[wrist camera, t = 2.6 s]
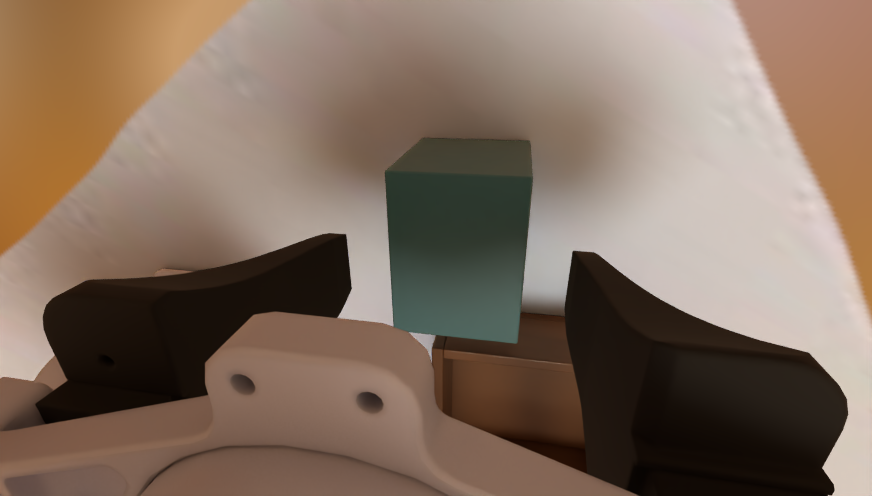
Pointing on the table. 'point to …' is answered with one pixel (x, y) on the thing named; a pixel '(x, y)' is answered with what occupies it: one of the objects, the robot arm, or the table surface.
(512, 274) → the teal box
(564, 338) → the organizer
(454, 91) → the table surface
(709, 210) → the table surface
